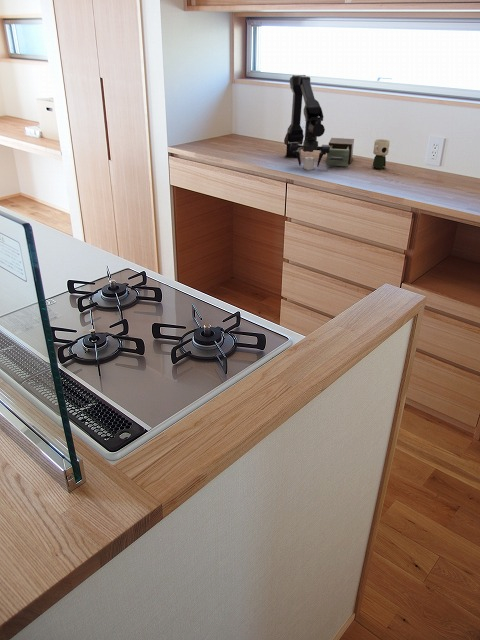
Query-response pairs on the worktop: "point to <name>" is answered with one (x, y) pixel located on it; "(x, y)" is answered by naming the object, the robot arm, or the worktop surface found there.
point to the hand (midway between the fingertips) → (308, 166)
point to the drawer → (338, 155)
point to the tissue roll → (308, 163)
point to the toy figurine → (380, 153)
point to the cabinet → (344, 142)
